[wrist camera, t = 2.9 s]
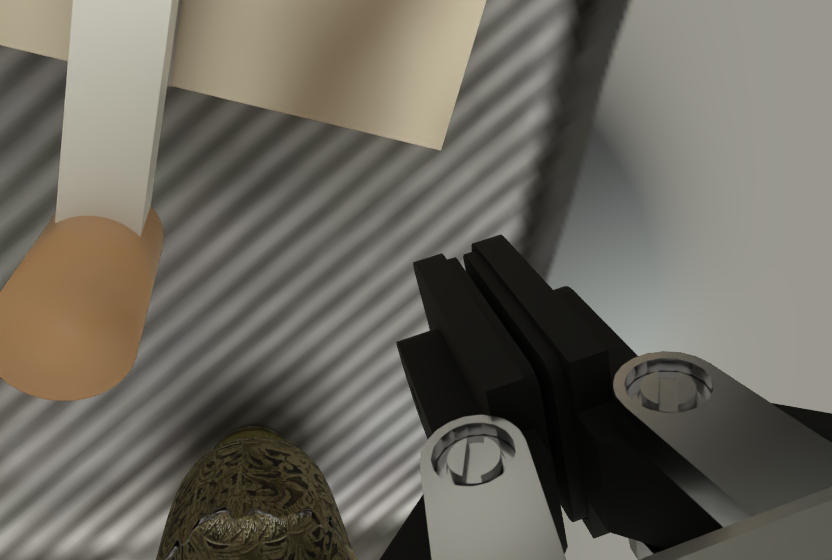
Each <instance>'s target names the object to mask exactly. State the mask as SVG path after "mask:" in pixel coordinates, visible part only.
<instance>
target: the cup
mask: <svg viewBox="0 0 832 560" xmlns="http://www.w3.org/2000/svg"><path fill="white" fill-rule="evenodd" d="M156 560H356V555H355V552H354V550H353V548H352V546H351V544H350V541H349V539H348V536H347V533H346V530H345V527H344V524H343V522H342V519H341V516H340V513H339V510H338V508H337V505H336V502H335V500H334V497H333V494H332V492H331V490H330V487H329V485H328V483H327V481H326V479H325V477H324V475H323V474H322V472H321V471H320V469H319V467H318V466H317V465H316V463H315V462H314V461H313V460H312V459H311V458H310V457H309V456H308V455H307V454H306V453H305V452H303V451H302V450H301V449H299V448H297V447H296V446H294V445H292V444H290V443H288V442H286V441H285V440H284V438H283V437H282V436H281V435H279V434H278V433H277V432H275V431H274V430H272V429H269V428H267V427H263V426H245V427H241V428H238V429H236V430H233V431H232V432H230V433H228V434H227V435H225V436H224V437H223V438H222V439H221V440H220V441H219V442H218V444H217V445H216V446H215V448H214V450H212V451H211V452H209V453H208V454H206V455H205V456H204V457H203V458H201V459H200V460H199V461H198V462H197V463H196V464H195V465H194V466H193V468H192V469H191V470H190V471H189V473H188V474H187V475H186V476H185V478H184V480H183V481H182V483H181V485H180V487H179V489H178V491H177V493H176V495H175V498H174V500H173V503H172V506H171V509H170V512H169V515H168V518H167V522H166V525H165V529H164V532H163V536H162V539H161V543H160V547H159V550H158V554H157V558H156Z"/></svg>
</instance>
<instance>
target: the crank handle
mask: <svg viewBox="0 0 832 560" xmlns="http://www.w3.org/2000/svg"><path fill="white" fill-rule="evenodd" d="M178 3H179V0H73V6H72V19H71V31H70V44H69V56H68V69H67V81H66V93H65V106H64V118H63V131H62V143H61V155H60V168H59V180H58V193H57V205H56V213H55V215H54V216H53V217H52V219H51V220H50V222H49V223H48V225H47V226H46V227H45V229H44V230H43V232H42V233H41V235H40V236H39V237H38V239H37V240H36V242H35V243H34V245H33V246H32V247H31V249H30V250H29V252H28V253H27V255H26V256H25V258H24V259H23V260H22V262H21V263H20V265H19V266H18V268H17V269H16V270H15V272H14V273H13V275H12V276H11V278H10V279H9V280H8V282H7V283H6V285H5V286H4V288H3V289H2V290H1V292H0V377H1V378H2V379H3V380H4V381H5V382H7V383H8V384H9V385H11V386H13V387H14V388H16V389H18V390H20V391H22V392H24V393H26V394H29V395H32V396H35V397H39V398H43V399H48V400H56V401H72V400H80V399H86V398H90V397H93V396H96V395H99V394H101V393H104V392H105V391H107V390H109V389H111V388H112V387H114V386H115V385H117V384H118V383H119V382H120V381H121V380H122V379H124V378H125V376H126V375H127V374H128V373H129V371H130V370H131V368H132V366H133V364H134V362H135V359H136V356H137V352H138V348H139V344H140V340H141V335H142V331H143V327H144V323H145V319H146V314H147V310H148V306H149V302H150V298H151V293H152V289H153V285H154V281H155V277H156V273H157V268H158V264H159V260H160V256H161V252H162V247H163V242H164V233H163V227H162V224H161V221H160V219H159V217H158V215H157V213H156V212H155V211H154V209H153V208H152V207H151V200H152V192H153V185H154V178H155V170H156V163H157V156H158V149H159V141H160V134H161V127H162V119H163V112H164V105H165V98H166V90H167V83H168V76H169V68H170V61H171V54H172V47H173V39H174V32H175V25H176V17H177V10H178Z"/></svg>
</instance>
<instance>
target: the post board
mask: <svg viewBox="0 0 832 560" xmlns="http://www.w3.org/2000/svg"><path fill="white" fill-rule="evenodd" d="M485 3H486V0H179V3H178V10H177V17H176V25H175V32H174V39H173V47H172V54H171V61H170V68H169V76H168V83H167V86H169V87H170V86H173V87H178V88H182V89H186V90H190V91H194V92H199V93H203V94H207V95H211V96H215V97H219V98H224V99H228V100H232V101H236V102H240V103H244V104H249V105H253V106H257V107H261V108H265V109H269V110H274V111H278V112H282V113H286V114H290V115H295V116H299V117H303V118H307V119H311V120H315V121H320V122H324V123H328V124H332V125H336V126H340V127H345V128H349V129H353V130H357V131H361V132H365V133H370V134H374V135H378V136H382V137H386V138H391V139H395V140H399V141H403V142H407V143H411V144H416V145H420V146H424V147H428V148H432V149H436V150H441V149H442V146H443V142H444V139H445V136H446V132H447V129H448V126H449V122H450V119H451V116H452V112H453V109H454V106H455V103H456V99H457V96H458V93H459V89H460V86H461V83H462V79H463V76H464V73H465V69H466V66H467V63H468V59H469V56H470V53H471V50H472V46H473V43H474V40H475V36H476V33H477V30H478V26H479V23H480V20H481V16H482V13H483V10H484V7H485ZM72 6H73V0H0V45H2V46H6V47H11V48H15V49H19V50H23V51H27V52H32V53H36V54H40V55H44V56H48V57H52V58H57V59H61V60H65V61H68V56H69V44H70V31H71V19H72Z"/></svg>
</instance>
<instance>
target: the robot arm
mask: <svg viewBox="0 0 832 560" xmlns="http://www.w3.org/2000/svg"><path fill="white" fill-rule="evenodd" d="M463 258H464V265H465V269H466V271H465V269H464V268H463V267H462V265H461V264H460V262H459V261H458V259H457V258H456V257H455V258H451V259H448V260H447V259H446V258H445V256H444V255H443V254H438V255H435V256H432V257H429V258H426V259H423V260H420V261H416V262H413V266H414V271H415V275H416V279H417V283H418V286H419V290H420V294H421V298H422V301H423V305H424V309H425V313H426V317H427V320H428V324H429V328H430V331H428V332H425V333H422V334H419V335H416V336H413V337H410V338H407V339H404V340H401V341H398V342H396V343H397V347H398V351H399V355H400V358H401V361H402V365H403V368H404V371H405V375H406V378H407V381H408V384H409V388H410V391H411V394H412V397H413V400H414V403H415V406H416V409H417V412H418V415H419V417H420V420H421V423H422V426H423V428H424V431H425V434H426V436H427V439H428V440H427V441H426V443H425V445H424V447H423V449H422V451H421V458H420V470H421V478H422V486H423V495H422V497H421V498H420V500H419V501H418V503H417V504H416V506H415V507H414V509H413V510H412V512H411V513H410V515H409V516H408V518H407V519H406V521H405V522H404V524H403V525H402V527H401V528H400V530H399V531H398V533H397V534H396V536H395V537H394V539H393V540H392V542H391V543H390V545H389V546H388V548H387V549H386V551H385V552H384V554H383V555H382V557H381V558H380V560H566V558H565V555H564V554H565V552H566V549H567V547H568V546H567V540H566V534H565V528H564V523H563V517H562V511H561V506H562V508H563V509H564V511H565V513H566V514H567V516H568V518H569V519H570V520H571V521H572V522H575V521H577V520H580V519H582V520H583V522H584V523H585V525H586V527H587V528H588V530H589V532H590V533H591V535H592V537H593V538H597V537H599V536H602V535H605V534H607V533H610V532H611V533H614V534H617V535H621V536H624V537H627V538H628V539H629V544H630V548H631V549H632V551H633V553H634V554H635V556H636V557H637V559H638V560H832V414H831V413H825V412H819V411H814V410H808V409H802V408H797V407H791V406H785V405H779V404H774V403H770V402H768V401H767V400H765V399H764V398H762V397H761V396H759V395H758V394H756V393H755V392H753V391H751V390H750V389H749V388H747V387H746V386H744V385H742V384H741V383H739V382H738V381H736V380H735V379H733V378H732V377H730V376H729V375H727V374H726V373H724V372H723V371H721V370H720V369H718V368H717V367H715V366H714V365H712V364H711V363H708V362H707V361H705V360H703V359H701V358H698V357H696V356H693V355H688V354H684V353H681V352H665V351H663V352H655V353H647V354H644V355H641V356H637V355H636V354H635V353H634V352H633V351H632V350H631V349H630V347H628V345H626V343H625V342H624V341H623V340H622V339H620V337H619V336H618V335H617V334H616V333H615V332H614V331H613V330H612V329H611V328H610V327H609V326H608V325H607V324H606V323H605V322H604V321H603V320H602V319H601V318H600V317H599V316H598V315H597V314H596V313H595V312H594V311H593V310H592V309H591V308H590V307H589V306H588V305H587V304H586V303H585V302H584V301H583V300H582V299H581V298H580V297H579V296H578V295H577V293H575V292H574V290H572V289H571V288H570V287H568V286H565V287H561V288H558V289H555V290H552V288H551V287H550V286H549V285H548V284H547V283H546V282H545V281H544V280H543V279H542V278H541V276H540V275H539V274H538V273H537V272H536V271H535V270H534V269H533V268H532V267H531V266H530V264H529V263H528V262H527V261H526V260H525V259H524V258H523V257H522V256H521V255H520V254H519V253H518V251H517V250H516V249H515V248H514V247H513V246H512V245H511V244H510V243H509V242H508V241H507V240H506V238H505V237H504V236H502V235H498V236H495V237H492V238H489V239H485V240H482V241H479V242H476V243H473V244H472V252H470V253H467V254H464V256H463ZM560 504H561V505H560Z"/></svg>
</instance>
